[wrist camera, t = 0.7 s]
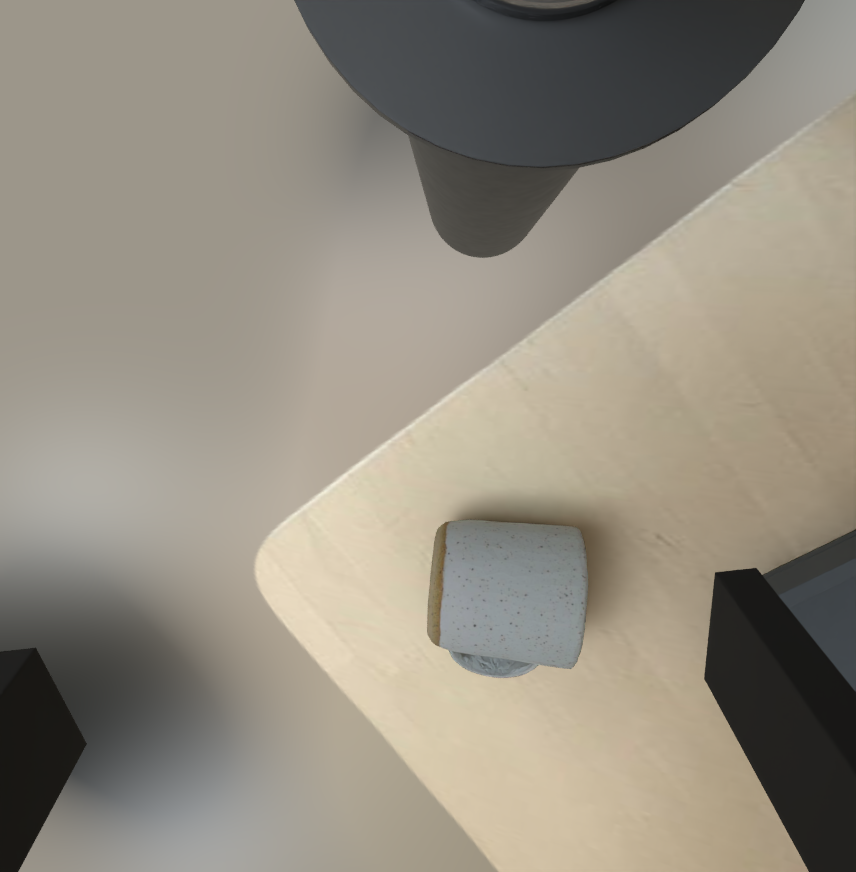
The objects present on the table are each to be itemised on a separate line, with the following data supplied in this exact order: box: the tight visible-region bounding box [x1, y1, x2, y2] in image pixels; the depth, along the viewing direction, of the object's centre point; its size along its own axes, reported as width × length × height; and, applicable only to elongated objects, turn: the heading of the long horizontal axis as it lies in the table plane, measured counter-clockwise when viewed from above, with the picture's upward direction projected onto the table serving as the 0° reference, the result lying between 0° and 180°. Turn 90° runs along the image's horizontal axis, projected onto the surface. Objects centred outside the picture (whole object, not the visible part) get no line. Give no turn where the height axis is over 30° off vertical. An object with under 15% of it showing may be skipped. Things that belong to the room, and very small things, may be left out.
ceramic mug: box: [427, 520, 588, 678], centre depth 35 cm, size 11×8×8 cm
